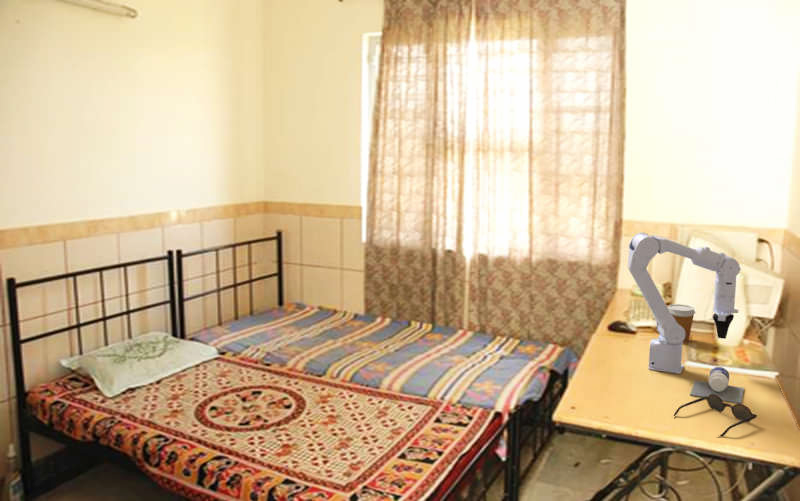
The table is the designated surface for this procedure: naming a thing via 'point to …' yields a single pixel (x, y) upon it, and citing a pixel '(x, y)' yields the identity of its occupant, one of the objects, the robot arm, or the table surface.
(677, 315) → the disposable coffee cup
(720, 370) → the pill bottle
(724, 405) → the eyeglasses
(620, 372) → the table surface
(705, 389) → the desk mat
